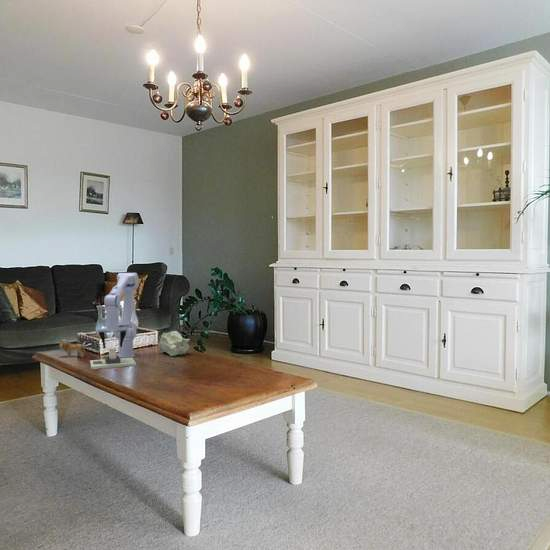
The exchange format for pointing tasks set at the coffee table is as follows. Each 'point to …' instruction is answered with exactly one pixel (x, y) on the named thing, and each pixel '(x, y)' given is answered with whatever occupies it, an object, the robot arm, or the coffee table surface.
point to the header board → (112, 362)
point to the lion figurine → (71, 348)
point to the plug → (112, 353)
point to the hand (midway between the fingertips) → (112, 347)
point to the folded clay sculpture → (173, 343)
